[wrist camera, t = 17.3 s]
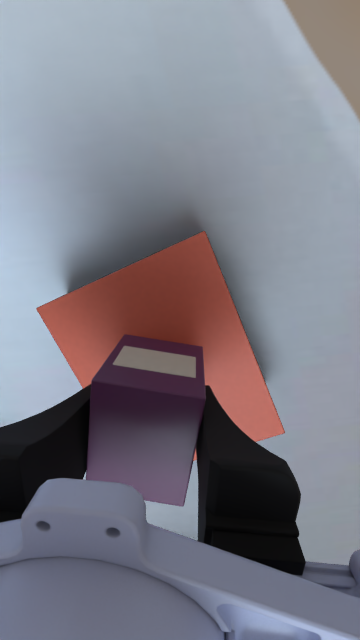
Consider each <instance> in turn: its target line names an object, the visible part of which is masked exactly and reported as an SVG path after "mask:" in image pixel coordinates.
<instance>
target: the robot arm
mask: <svg viewBox="0 0 360 640" xmlns="http://www.w3.org/2000/svg"><path fill="white" fill-rule="evenodd" d="M205 392H206V401H205V406H204V411H203V416H202V420H201V425H200V430H199V435H198V440H197V445H196V455H197V467H198V541H196V540H193V539H191V538H188V537H185V536H182V535H179V534H176V533H174V532H171V531H168V530H165V529H162V528H160V527H157V526H154V525H151V524H148V523H147V521H146V505H145V502H144V499H143V496H142V495H141V494H140V493H139V492H138V491H137V490H136V489H134V488H133V487H132V486H129V485H126V484H122V483H117V482H105V481H93V480H83V477H84V474H85V472H86V470H87V452H88V433H89V415H90V396H91V384H90V385H88V386H87V387H85V388H84V389H82V390H80V391H79V392H77V393H76V394H74V395H73V396H71V397H69V398H68V399H66V400H64V401H63V402H61V403H59V404H57V405H56V406H54V407H52V408H50V409H48V410H46V411H43V412H41V413H39V414H37V415H34V416H32V417H29V418H27V419H24V420H22V421H19V422H16V423H13V424H10V425H7V426H4V427H0V640H360V550H357V551H355V552H354V553H353V554H352V556H351V558H350V561H349V566H348V565H338V564H327V563H316V562H306V561H305V559H304V556H303V553H302V550H301V547H300V544H299V540H298V536H299V530H298V528H297V525H296V522H295V521H296V517H297V513H298V509H299V505H300V498H301V493H300V490H299V487H298V484H297V482H296V479H295V477H294V475H293V473H292V471H291V470H290V468H289V466H288V464H287V462H286V461H285V460H283V459H282V458H280V457H278V456H276V455H274V454H273V453H271V452H269V451H268V450H266V449H265V448H263V447H262V446H260V445H259V444H257V443H256V442H255V441H253V440H252V439H251V438H250V437H249V436H247V435H246V434H245V433H244V432H243V431H242V430H241V429H240V428H239V427H238V426H237V425H236V424H235V423H234V422H233V421H232V420H231V418H230V417H229V416H228V415H227V413H226V412H225V411H224V409H223V408H222V406H221V405H220V403H219V402H218V400H217V398H216V397H215V395H214V393H213V391H212V389H211V387H210V386H209V385H205Z"/></svg>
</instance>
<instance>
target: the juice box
mask: <svg viewBox="0 0 360 640" xmlns="http://www.w3.org/2000/svg"><path fill="white" fill-rule="evenodd" d="M205 401H206V392H205V375H204V357H203V347H202V346H196V345H189V344H183V343H177V342H171V341H164V340H158V339H152V338H146V337H139V336H133V335H127V334H124V335H123V337H122V338H121V340H120V341H119V342H118V344H117V345H116V347H115V348H114V349H113V351H112V352H111V354H110V355H109V356H108V358H107V359H106V361H105V362H104V363H103V365H102V366H101V368H100V369H99V370H98V372H97V373H96V375H95V376H94V377H93V379H92V380H91V396H90V415H89V433H88V452H87V471H86V480H93V481H105V482H117V483H122V484H126V485H129V486H132V487H133V488H134V489H136V490H137V491H138V492H139V493H140V494H141V495H142V496H143V499H144V500H146V501H152V502H158V503H164V504H170V505H176V506H184V503H185V498H186V493H187V488H188V483H189V479H190V474H191V469H192V464H193V459H194V454H195V449H196V445H197V440H198V435H199V430H200V425H201V420H202V416H203V411H204V406H205Z"/></svg>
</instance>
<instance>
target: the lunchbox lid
mask: <svg viewBox="0 0 360 640" xmlns="http://www.w3.org/2000/svg"><path fill="white" fill-rule="evenodd" d="M37 311H38V313H39V314H40V316H41V318H42V319H43V321H44V323H45V324H46V326H47V328H48V330H49V331H50V333H51V335H52V336H53V338H54V340H55V341H56V343H57V345H58V347H59V348H60V350H61V352H62V353H63V355H64V357H65V358H66V360H67V362H68V364H69V365H70V367H71V369H72V370H73V372H74V374H75V375H76V377H77V379H78V381H79V382H80V384H81V386H82V387H83V389H84V388H85V387H87V386H88V385H90V384H91V380H92V379H93V377H94V376H95V375H96V373H97V372H98V370H99V369H100V368H101V366H102V365H103V363H104V362H105V361H106V359H107V358H108V356H109V355H110V354H111V352H112V351H113V349H114V348H115V347H116V345H117V344H118V342H119V341H120V340H121V338H122V337H123V335H124V334H127V335H133V336H139V337H146V338H152V339H158V340H164V341H171V342H177V343H183V344H189V345H196V346H202V347H203V357H204V375H205V385H209V386H210V387H211V389H212V391H213V393H214V395H215V397H216V398H217V400H218V402H219V403H220V405H221V406H222V408H223V409H224V411H225V412H226V413H227V415H228V416H229V417H230V418H231V420H232V421H233V422H234V423H235V424H236V425H237V426H238V427H239V428H240V429H241V430H242V431H243V432H244V433H245V434H246V435H247V436H249V437H250V438H251V439H252V440H253V441H255V442H257V441H260V440H263V439H267V438H270V437H273V436H276V435H280V434H283V433H285V431H284V428H283V426H282V423H281V421H280V418H279V416H278V413H277V411H276V408H275V406H274V403H273V401H272V398H271V396H270V393H269V391H268V388H267V386H266V383H265V381H264V378H263V376H262V373H261V371H260V368H259V366H258V363H257V360H256V358H255V355H254V353H253V350H252V348H251V345H250V343H249V340H248V338H247V335H246V333H245V330H244V328H243V325H242V323H241V320H240V318H239V315H238V313H237V310H236V308H235V305H234V303H233V300H232V297H231V295H230V292H229V290H228V287H227V285H226V282H225V280H224V277H223V275H222V272H221V270H220V267H219V265H218V262H217V260H216V257H215V255H214V252H213V250H212V247H211V245H210V242H209V240H208V237H207V234H206V232H205V231H203V232H201V233H199V234H197V235H194V236H192V237H190V238H188V239H186V240H183V241H181V242H179V243H177V244H175V245H173V246H170V247H168V248H166V249H164V250H162V251H160V252H157V253H155V254H153V255H151V256H149V257H146V258H144V259H142V260H140V261H138V262H136V263H133V264H131V265H129V266H127V267H125V268H123V269H120V270H118V271H116V272H114V273H112V274H110V275H107V276H105V277H103V278H101V279H99V280H96V281H94V282H92V283H90V284H88V285H86V286H83V287H81V288H79V289H77V290H75V291H73V292H70V293H68V294H66V295H64V296H62V297H59V298H57V299H55V300H53V301H51V302H49V303H46V304H44V305H42V306H40V307H38V308H37ZM194 460H197V455H196V449H195V454H194V459H193V461H194Z"/></svg>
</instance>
